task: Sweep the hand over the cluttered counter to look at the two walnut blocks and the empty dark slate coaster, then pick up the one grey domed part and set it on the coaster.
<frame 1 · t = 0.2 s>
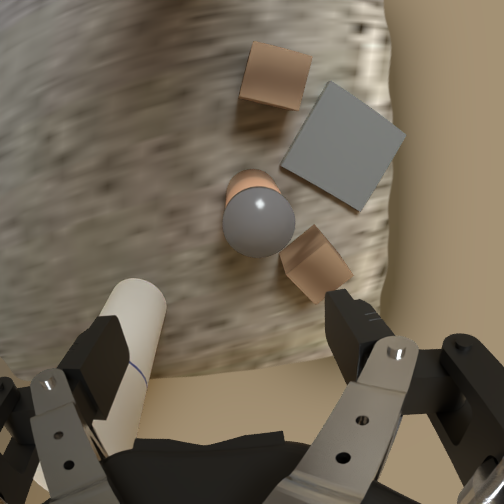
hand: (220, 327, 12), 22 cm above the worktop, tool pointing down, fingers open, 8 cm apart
cylindrical container: (138, 302, 37), on the worktop
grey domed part: (251, 193, 32), on the worktop
block b: (309, 253, 36), on the worktop
coaster: (345, 147, 31), on the worktop
block a: (269, 80, 28), on the worktop
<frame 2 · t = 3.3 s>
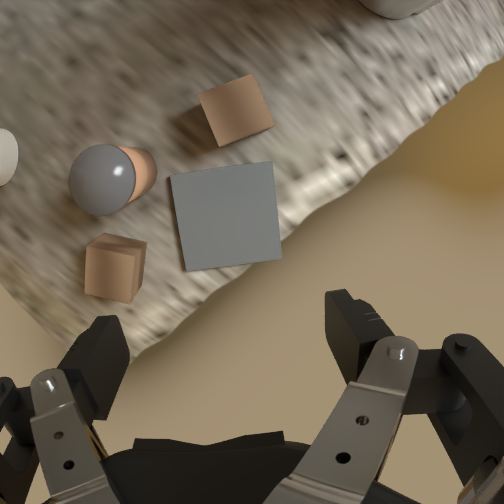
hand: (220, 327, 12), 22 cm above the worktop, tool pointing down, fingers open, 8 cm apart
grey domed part: (132, 172, 30), on the worktop
block b: (123, 259, 33), on the worktop
coaster: (227, 216, 32), on the worktop
block a: (234, 115, 30), on the worktop
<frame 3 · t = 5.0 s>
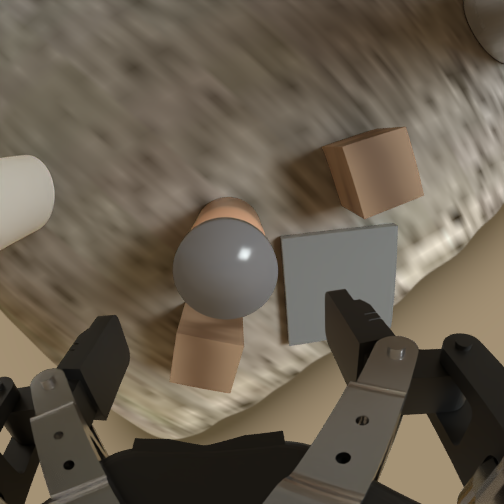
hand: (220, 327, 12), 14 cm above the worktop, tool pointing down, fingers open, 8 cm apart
cylindrical container: (25, 193, 23), on the worktop
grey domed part: (228, 229, 25), on the worktop
block b: (208, 331, 28), on the worktop
coaster: (341, 284, 27), on the worktop
block a: (359, 166, 24), on the worktop
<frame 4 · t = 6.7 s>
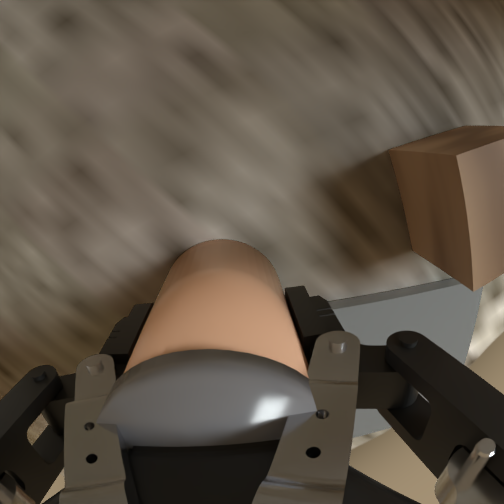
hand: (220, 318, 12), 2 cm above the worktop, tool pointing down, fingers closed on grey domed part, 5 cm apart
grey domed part: (222, 295, 14), on the worktop, touching gripper
coaster: (396, 365, 16), on the worktop
block a: (441, 185, 13), on the worktop
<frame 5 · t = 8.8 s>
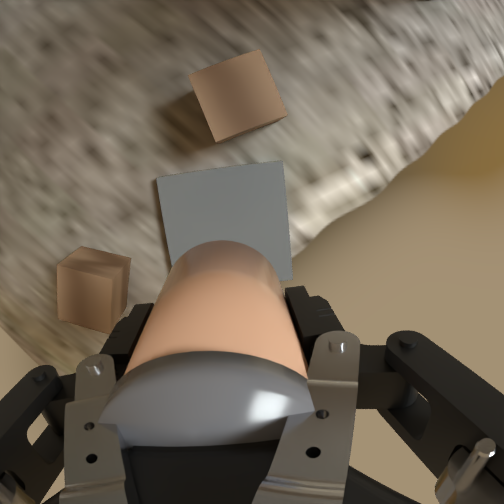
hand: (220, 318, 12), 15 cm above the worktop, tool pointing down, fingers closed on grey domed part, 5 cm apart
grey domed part: (222, 296, 14), point 13 cm above the worktop, touching gripper
block b: (103, 276, 27), on the worktop
coaster: (226, 227, 27), on the worktop
block a: (236, 104, 24), on the worktop
when the fingers open (4 cm above the worktop, at t = 11.2 s): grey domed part drops 1 cm, resting on coaster.
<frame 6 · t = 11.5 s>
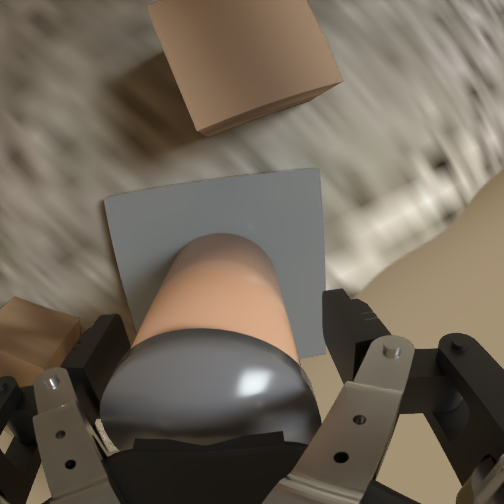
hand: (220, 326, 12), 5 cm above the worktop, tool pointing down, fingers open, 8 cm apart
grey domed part: (222, 285, 15), point 1 cm above the worktop, touching coaster
block b: (48, 339, 17), on the worktop
coaster: (223, 279, 16), on the worktop
block a: (239, 70, 13), on the worktop
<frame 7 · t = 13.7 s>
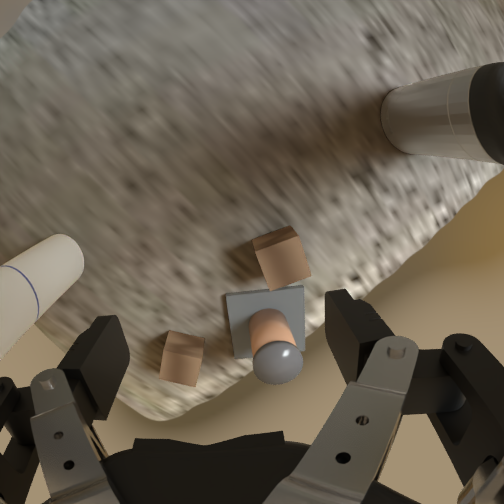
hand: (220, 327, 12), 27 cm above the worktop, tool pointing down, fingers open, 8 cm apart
cylindrical container: (62, 258, 38), on the worktop
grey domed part: (268, 325, 42), point 1 cm above the worktop, touching coaster
block b: (184, 348, 43), on the worktop
coaster: (267, 322, 43), on the worktop
block a: (277, 250, 40), on the worktop
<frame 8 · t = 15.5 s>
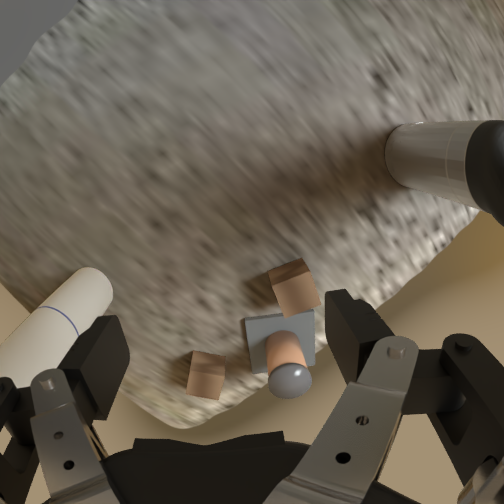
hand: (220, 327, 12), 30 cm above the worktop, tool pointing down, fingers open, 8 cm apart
cylindrical container: (92, 289, 43), on the worktop
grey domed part: (282, 344, 47), point 1 cm above the worktop, touching coaster
block b: (206, 365, 48), on the worktop
coaster: (281, 341, 47), on the worktop
block a: (290, 279, 44), on the worktop
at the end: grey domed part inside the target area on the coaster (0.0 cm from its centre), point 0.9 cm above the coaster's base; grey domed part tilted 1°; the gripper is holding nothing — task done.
